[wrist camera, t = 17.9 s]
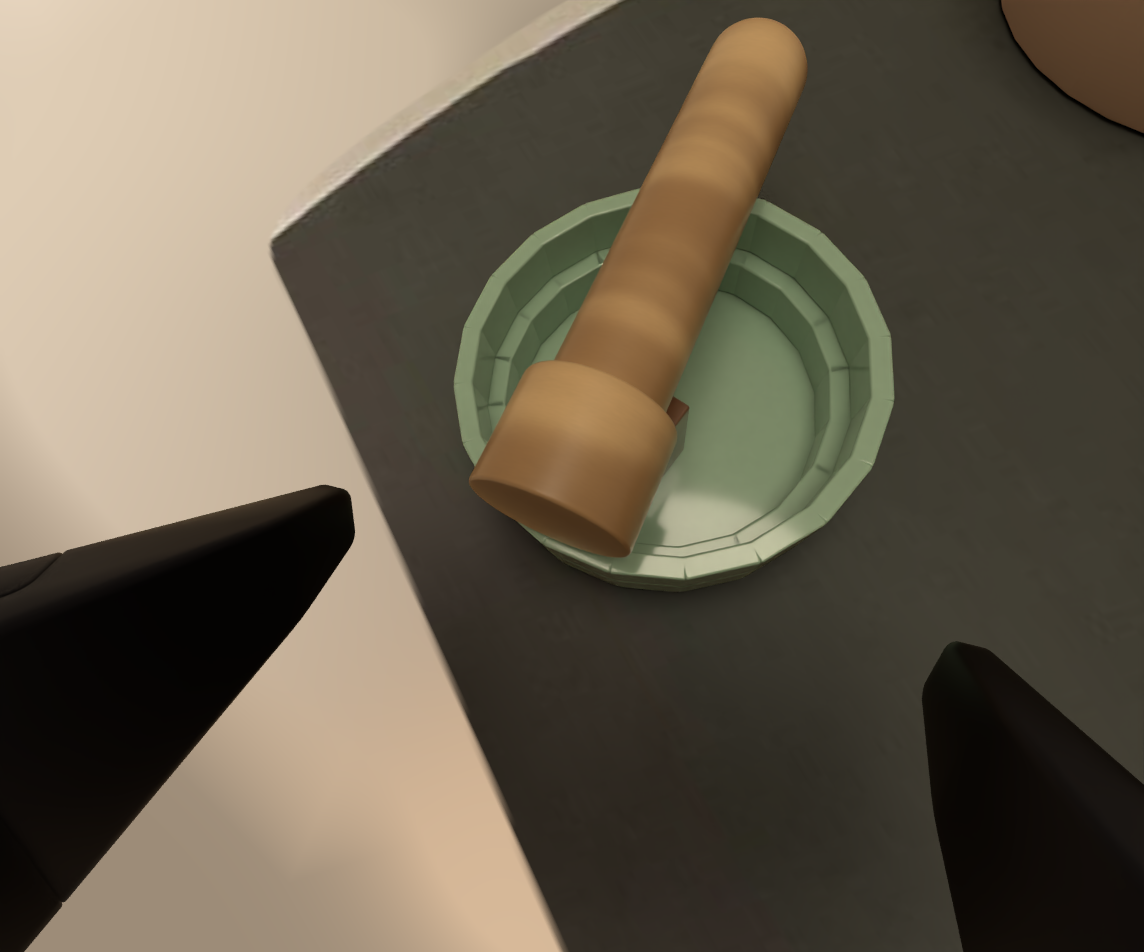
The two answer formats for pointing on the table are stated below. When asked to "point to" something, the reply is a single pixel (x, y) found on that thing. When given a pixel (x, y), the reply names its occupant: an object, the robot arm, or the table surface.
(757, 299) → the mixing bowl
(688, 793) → the table surface
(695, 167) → the pestle
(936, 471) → the table surface
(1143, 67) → the bowl
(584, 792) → the table surface
